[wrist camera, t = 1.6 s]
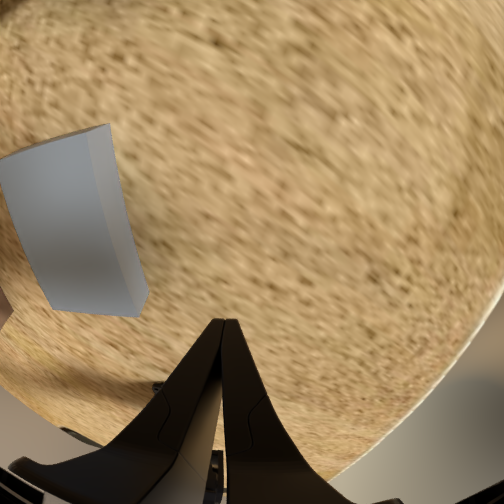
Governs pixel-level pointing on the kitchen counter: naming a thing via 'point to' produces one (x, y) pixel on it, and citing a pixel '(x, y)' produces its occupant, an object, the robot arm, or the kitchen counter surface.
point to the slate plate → (75, 223)
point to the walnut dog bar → (4, 309)
